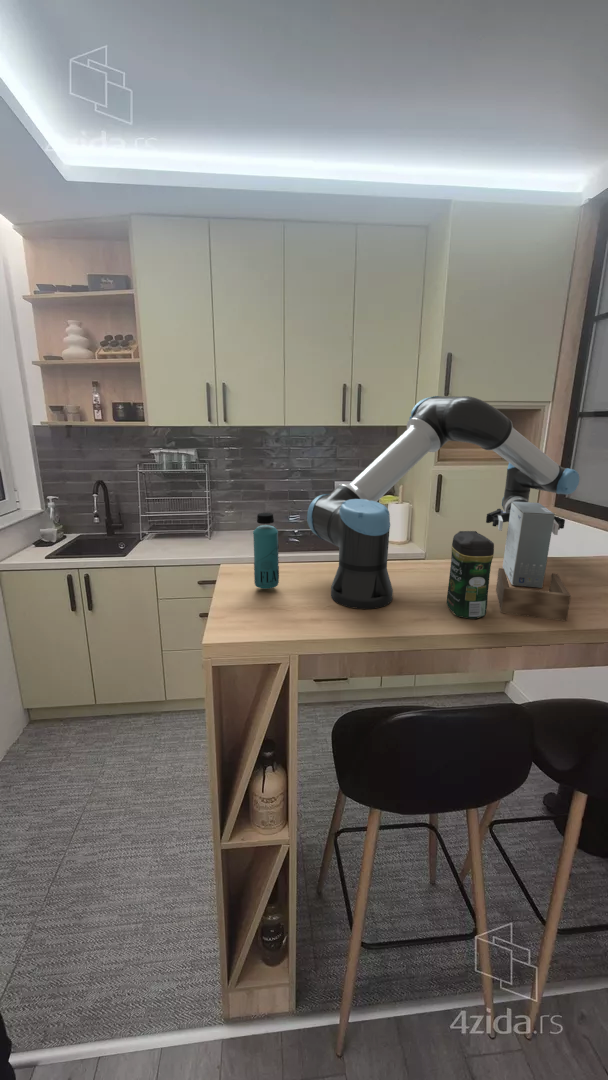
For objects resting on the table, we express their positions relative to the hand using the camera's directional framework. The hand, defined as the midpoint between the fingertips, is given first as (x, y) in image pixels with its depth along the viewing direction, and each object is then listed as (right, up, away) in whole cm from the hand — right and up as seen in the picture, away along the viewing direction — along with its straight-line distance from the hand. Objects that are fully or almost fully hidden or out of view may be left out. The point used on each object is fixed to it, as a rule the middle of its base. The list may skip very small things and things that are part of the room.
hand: (528, 527), depth 123 cm
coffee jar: (-23, -20, -17) cm, 35 cm away
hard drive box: (0, -14, +4) cm, 15 cm away
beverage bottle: (-70, -16, -5) cm, 72 cm away
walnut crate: (-6, -19, -13) cm, 24 cm away
